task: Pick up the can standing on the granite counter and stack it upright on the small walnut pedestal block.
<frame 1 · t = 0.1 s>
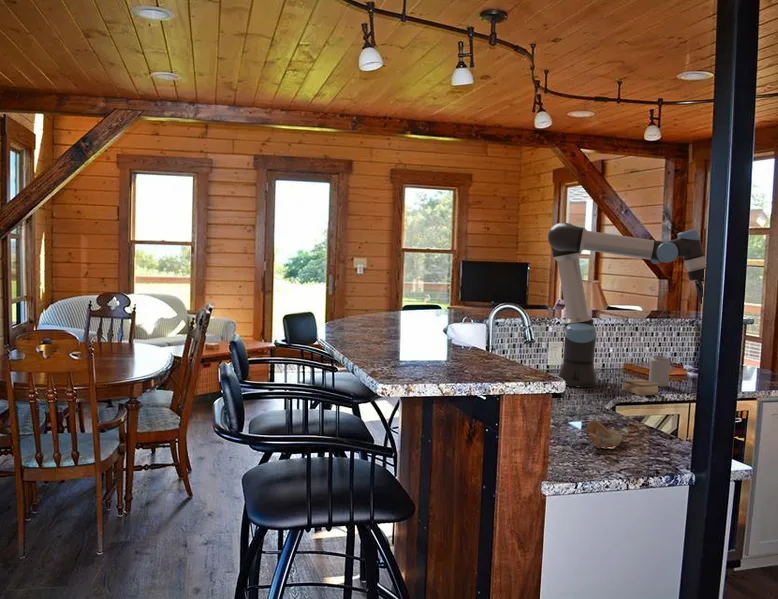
hand: (711, 321, 276), 28 cm above the counter, tool tilted 20°, fingers open, 13 cm apart
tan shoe: (605, 447, 196), on the counter
pedestal: (639, 392, 270), on the counter
can: (658, 386, 284), on the counter
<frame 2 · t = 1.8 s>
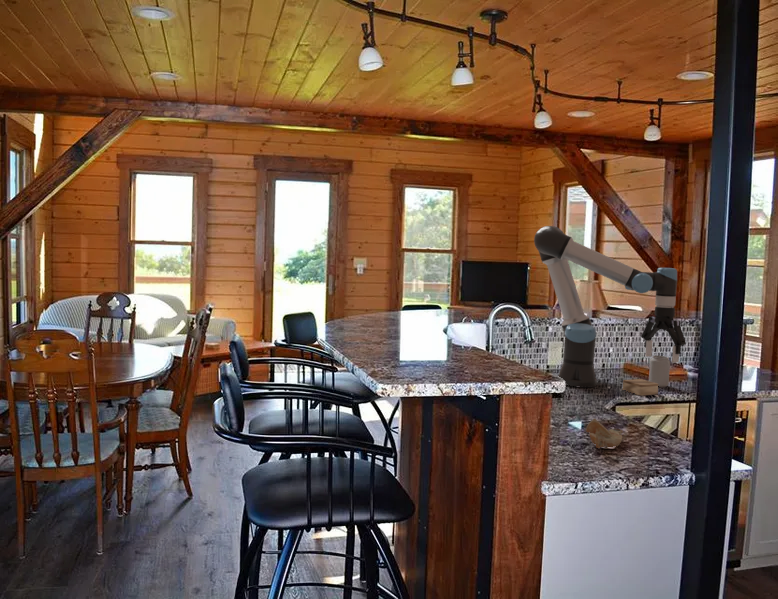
hand: (661, 359, 283), 11 cm above the counter, tool pointing down, fingers open, 13 cm apart
nothing on the counter moved.
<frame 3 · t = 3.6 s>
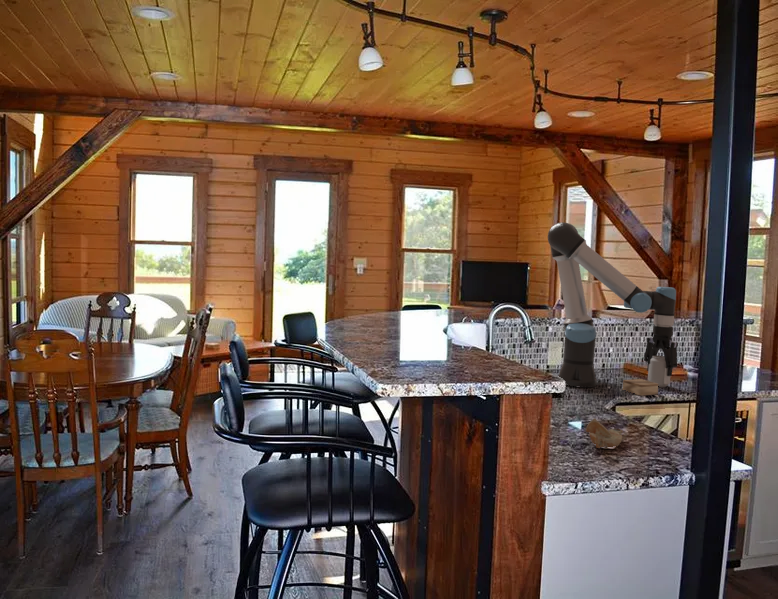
hand: (658, 381, 284), 2 cm above the counter, tool pointing down, fingers closed on can, 7 cm apart
can: (658, 386, 284), on the counter, touching gripper
everything else where it was.
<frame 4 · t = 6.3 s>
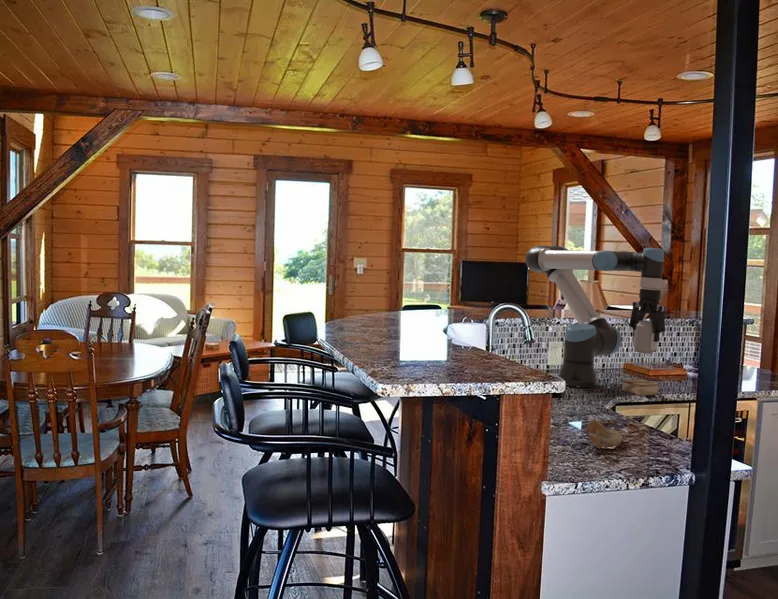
hand: (644, 348, 270), 17 cm above the counter, tool pointing down, fingers closed on can, 7 cm apart
can: (644, 352, 271), point 15 cm above the counter, touching gripper
everything else where it was.
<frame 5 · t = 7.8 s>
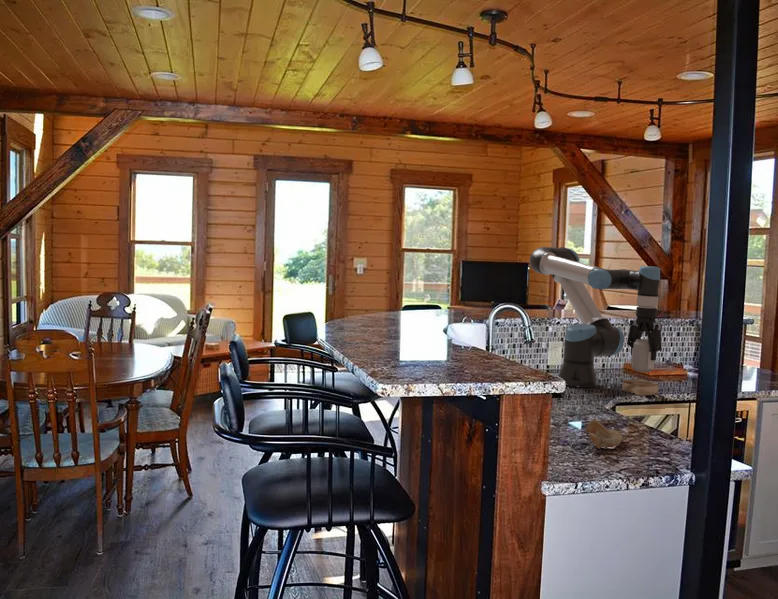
hand: (642, 366, 269), 10 cm above the counter, tool pointing down, fingers closed on can, 7 cm apart
can: (641, 371, 269), point 8 cm above the counter, touching gripper
everything else where it was.
when the fingers open (7 cm above the counter, at t = 9.2 s): can drops 1 cm, resting on pedestal.
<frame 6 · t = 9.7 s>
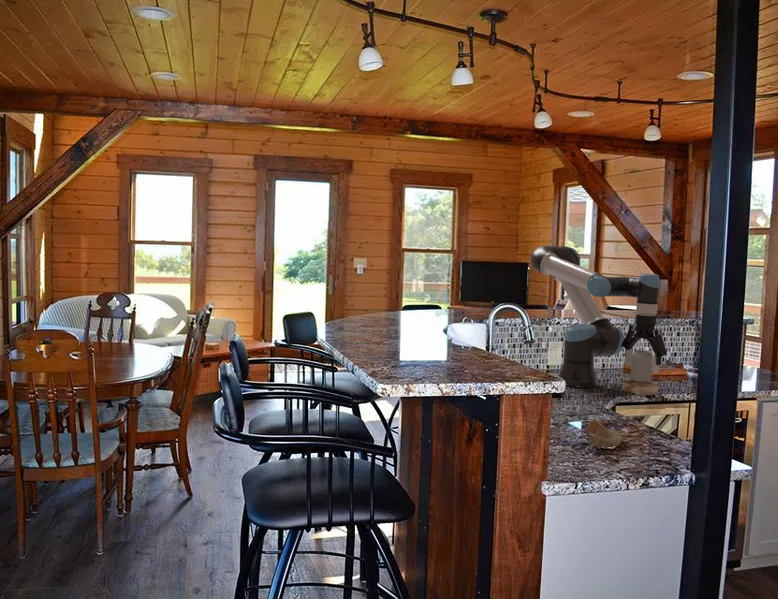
hand: (641, 369, 269), 9 cm above the counter, tool pointing down, fingers open, 13 cm apart
can: (640, 382, 270), point 4 cm above the counter, touching pedestal
everything else where it was.
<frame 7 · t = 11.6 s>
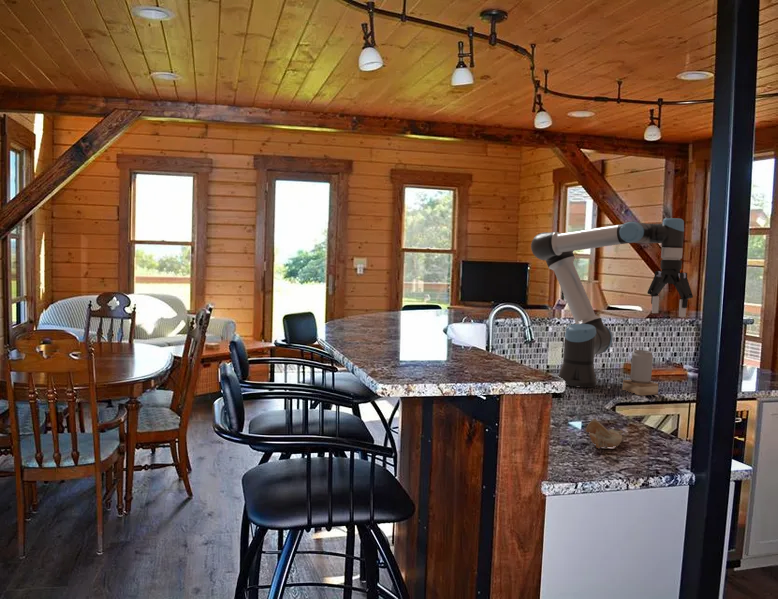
hand: (668, 314, 269), 30 cm above the counter, tool pointing down, fingers open, 13 cm apart
nothing on the counter moved.
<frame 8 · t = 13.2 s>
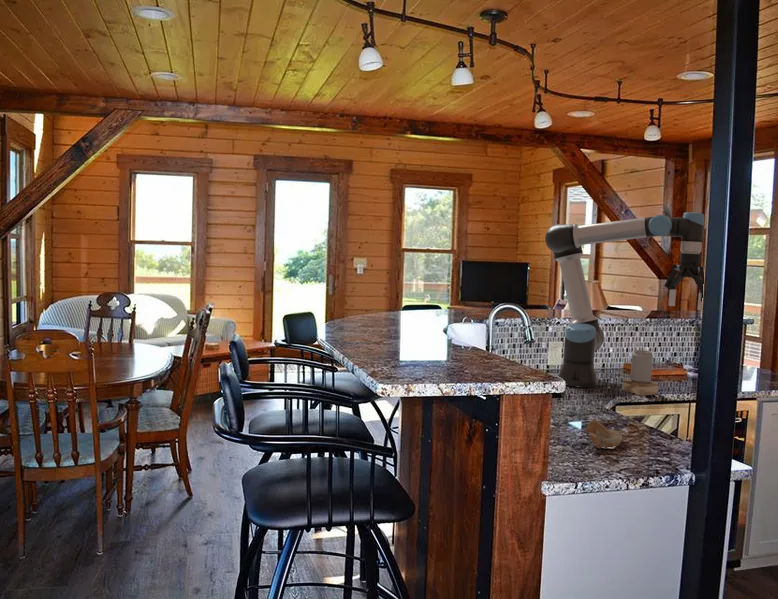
hand: (685, 308, 272), 33 cm above the counter, tool pointing down, fingers open, 13 cm apart
nothing on the counter moved.
at the end: can 0.2 cm from the pedestal (horizontally); can inside the target area on the pedestal (0.2 cm from its centre), point 3.8 cm above the pedestal's base; can tilted 0° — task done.
